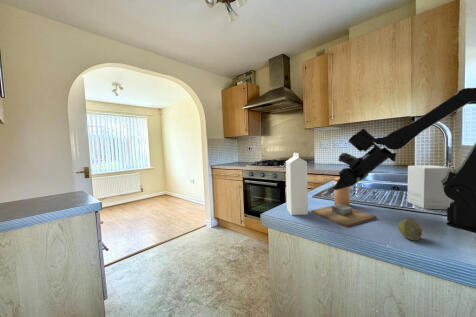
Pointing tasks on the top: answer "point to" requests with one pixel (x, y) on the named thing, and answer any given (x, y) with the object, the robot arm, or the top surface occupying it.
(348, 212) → the thin square board
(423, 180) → the supplement box
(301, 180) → the milk
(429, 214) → the top surface
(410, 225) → the lime
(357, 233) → the top surface
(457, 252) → the top surface
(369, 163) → the robot arm
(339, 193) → the container with domed lid
